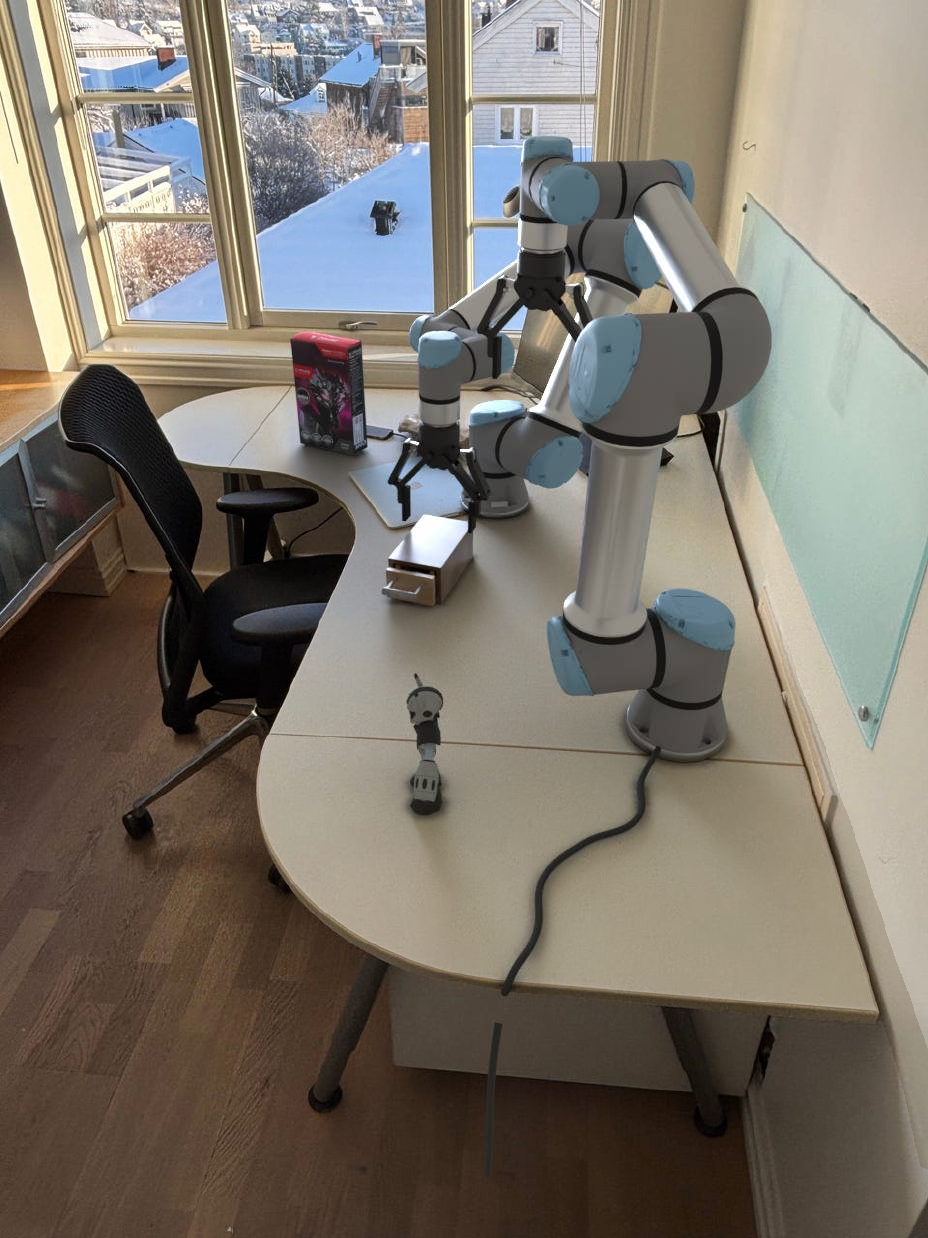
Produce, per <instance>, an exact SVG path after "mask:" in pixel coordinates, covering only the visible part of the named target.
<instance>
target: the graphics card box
mask: <svg viewBox="0 0 928 1238" xmlns="http://www.w3.org/2000/svg"><path fill="white" fill-rule="evenodd" d="M289 340H290V341H289V342H290V350H291V359H292V360H291V361H292V371H293V378H294V379H293V380H294V390H295V401H296V402H295V403H296V411H297V423H298V424H297V425H298V433H299V443H300V444H302V445H304V446H305V445H306V446H310V447H315V448H320V449H324V450H328V451H332V452H336V453H341V454H346V455H351V456H356V455H357V454H359V453H361V452H362V451H363V450H366V449H367V448H368V431H367V429H368V428H367V415H366V397H365V379H364V361H363V342H362V340H361V339H354V338H353V339H352V338H347V337H341V336H336V335H330V334H325V333H320V332H315V331H309V330H303V331H300V332H298V333H295V335H293V336H292V337H291V338H290V339H289Z"/></svg>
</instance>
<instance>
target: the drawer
mask: <svg viewBox="0 0 928 1238" xmlns="http://www.w3.org/2000/svg"><path fill="white" fill-rule="evenodd" d="M385 581H386V586H383V587H382V589H381V595H382V596H383V595H384V596H386V597H387V598H390V599H396V600H401V601H405V602H411V603H416V604H421V605H424V606H425V605H426V606H430V607H434V606H435V604H436V603H435V594H436V593H437V589H436V571H432V570H426V569H421V568H415V567H410V566H405V565H399V564H396V568H390V567H389V566H388V567H387V568H386V569H385Z"/></svg>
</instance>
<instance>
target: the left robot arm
mask: <svg viewBox="0 0 928 1238" xmlns="http://www.w3.org/2000/svg"><path fill="white" fill-rule="evenodd" d="M563 249H564V250H565V252H566V261H565V276H564V279H565V280H566V279H567V278H569V277H570V276H572V275H575V274H583V273H584V276H583V280H584V284H585V285H586V291H585V293H584V297H585V300H586V302H587V305H588V308H589V310H590V313H591V315H592V318H593V320H594V319H597V318H600V317H608V316H617V315H620V314H624V313H626V310H627V308H628V306H630V305H631V304H634V303H636V302H638V301H639V299H640V296H641V295H642V292H643V291H644V290H648V289H651V288H653V287H655V285H656V284H658V283H659V282H660V280H661V278H663V277H662V275H661V273H660V271H659V269H658V267H657V265H656V263H655V261H654V259H653V257H652V255H651V253H650V251H649V249H648V247H647V245H646V243H645V241H644V239H643V237H642V235H641V233H640V231H639V229H638V227H637V226H636V224H635V222H634V220H633V219H604V220H587V221H585V222H584V223H581V224H579V225H576V226H568V230H567V245H566V246H565V247H564V248H563ZM517 262H518V258H517V259H516V260H515V261H513V262H512V263H510V264H509V265H508V266H506V267H505V268H503V269H502V270H501V271H499V272H498V273H497V274H495V275H493V276H492V277H491V278H489V279H488V280H487V281H485V282H484V283H483V284H481V285H480V286H478V287H477V288H476V289H474V290H473V291H472V292H470V293H469V294H467V295H466V296H465V297H463V298H462V299H460V300H459V301H458V302H457V303H455V304H454V305H452V306H450V307H449V308H447V310H445V311H444V312H442V313H441V314H439V315H438V316H434V315H421V316H419V317H417V318H416V319H415V320H414V321H413V323H412V324H411V327H410V329H409V333H408V340H409V344H410V346H411V348H412V350H413V351H414V352H415V353H417V359H416V361H417V374H418V375H417V376H418V377H417V378H418V381H417V382H418V414H419V419H420V421H419V439H418V442H417V441H414V439H413V437H409V438H407V439H406V440H405V441H404V442H403V443H402V447H401V454H400V455H399V458H398V459H397V462H396V463H395V466H394V468H393V469H392V471H391V473H390V475H389V476H388V479H387V481H386V483H387V484H388V485H389V486H394V487H395V488H396V493H397V494H396V495H397V496H396V497H397V500H396V501H397V503H398V504H400V505H401V521H402V522H407V521H408V520H409V519H410V517H411V515H412V512H411V511H412V507H411V505H412V504H411V503H412V502H411V500H412V499H411V497H412V496H411V485H409V484H408V483H409V482H410V481H411V480H412V479H413V478H414V477H415V476H416V475H417V474H418V473H419V472H420V471H421V469H423V468H424V467H425V466H427V467H429V469H432V470H433V469H436V470H437V469H438V470H441V471H446V470H447V471H448V472H449V473H450V475H453V476H454V477H455V479H456V480H457V482H458V483H459V485H460V486H461V487H462V489H461V493H460V505H461V507H462V508H463V510H465V511H466V512H467V522H468V533H472V532H473V533H474V531H475V529H476V528H477V518H478V517H481V518H487V519H505V518H510V517H514V516H518V515H520V514H521V513H523V512H524V511H526V510H527V508H528V507H529V499H530V498H529V491H528V488H527V484H526V482H525V480H526V481H528V483H530V484H531V485H535V486H539V487H542V488H545V489H550V490H551V489H556V488H559V487H562V486H563V485H564V484H566V483H568V482H569V481H570V480H571V479H572V478H573V477H574V476H575V475H576V473H577V472H578V470H579V469H580V466H581V464H582V462H583V458H584V453H583V451H584V447H583V444H582V443H581V441H580V440H579V439H580V436H581V434H582V431H583V429H582V426H581V424H580V420H578V419H577V418H576V417H575V416H574V414H573V412H572V410H571V407H570V402H569V390H570V385H569V383H568V382H569V370H570V363H571V359H572V354H573V350H574V347H575V344H576V343H575V341H574V340H573V338H572V337H571V335H570V334H569V333H568V335H567V337H566V340H565V342H564V345H563V347H562V349H561V351H560V354H559V357H558V359H557V361H556V364H555V366H554V369H553V370H552V373H551V376H550V378H549V380H548V383H547V386H546V388H545V390H544V391H543V395H542V397H541V400H540V402H539V403H538V404H537V405H535V406H533V407H531V408H529V409H528V407H525V405H524V404H523V403H522V402H520V401H518V400H512V399H511V400H510V399H497V400H489V401H485V402H482V403H479V404H476V405H475V406H474V407H473V408H472V409H471V410H470V413H469V423H468V429H469V450H466V449H461V448H460V445H459V441H460V428H461V423H460V421H459V420H460V419H461V391H462V385H465V384H469V383H472V382H476V381H481V380H485V379H489V378H492V364H493V358H490V357H488V355H487V341H488V340H487V337H486V336H484V335H482V334H478V333H477V328H478V326H479V324H480V322H481V320H482V318H483V316H484V314H485V312H486V310H487V308H488V306H489V304H490V302H491V300H492V298H493V296H494V295H495V293H496V286H497V280H498V279H499V278H501V277H502V276H503V275H506V276H507V277H508V278H510V279H514V280H516V278H517ZM518 299H519V296H518V295H517V293H516V291H515V290H514V287H512V288H511V289H510V291H509V292H507V293H506V294H505V296H504V298H503V300H502V301H501V303H500V305H499V307H498V309H497V311H496V313H495V315H494V317H493V319H492V321H491V323H490V324H489V327H491V328H493V327H494V326H495V324H496V323H497V322H498V321H499V320H500V319H501V318H502V317H503V316H504V315H505V313H506V312H507V311H508V310H509V309H510V308H511V307H512V306H513V304H514V303H515V302H516V301H517V300H518ZM574 319H575V321H576V322H577V324H578V325H579V327H580V328H581V330H583V329H584V328H583V325H582V322H581V320H580V317H579V315H578V312H577V313H576V315H575V317H574ZM497 336H502V355H501V375H502V374H505V373H508V372H509V371H511V369H512V368H513V367H514V363H515V357H516V356H515V355H516V352H515V347H514V343H513V341H512V340H511V338H510V337H509V336H508V335H507V334H506V333H504V332H501V331H500V332H499V333H498V334H497ZM527 411H528V412H527ZM415 451H417V453H418V454H419V455H420V457H421V459H420V460H419V461H418V462H417V463H416V464H415V465H414V466H413V467H412V468H411V469H410V470H409V471H408V472H407V473H406V475H404V476H403V477H402V478H400V476H401V474H402V471H403V470H404V468H405V466H406V464H407V462H408V460H409V458H410V457H411V455H412V454H413V453H414V452H415ZM460 457H461V458H462V459H463V462H464V463H466V466H467V469H468V471H466V470H465V468H464V467H463V463H462V462H461V460H460V459H459V458H460ZM461 501H462V502H464V504H465V505H466V506H467V507H468V508H466V507H465V506H464V505H463V504H462V502H461Z"/></svg>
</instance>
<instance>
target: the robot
mask: <svg viewBox="0 0 928 1238" xmlns="http://www.w3.org/2000/svg"><path fill="white" fill-rule="evenodd" d="M413 677H414V680H415V682H416V685H417V687H416V688H415V689H413V690H412V691H411V692H410V693H408V695H407V697H406V699H405V702H406V705H407V706H406V709H407V710H408V712H409V723H410V724H411V725H412V727H413V729H414V733H416V750H417V751H418V753H419V755H420V761H419V764H418V767H417V768H416V771H415V773H414V774H413V775H412V777H411V778H410V781H409V783H410V785H411V787H412V789H413V790H412V791H413V792H412V793H413V798H412V800H411V802H410V805H409V807H410V808H411V810H413V811H414V812H415V813H416V814H419V815H423V816H424V815H431V814H432V813H435V812H437V811H439V810H440V809H441V806H442V803H443V798H442V796H443V795H442V792H441V789H440V787H441V786H442V777H441V773H440V770H439V766H438V763H437V762H436V760H435V757H436V755H437V746H441V743H442V737H441V730H440V726H439V719H440V718H441V716H440V711H441V710H442V709H443V708H444V707H443V706H444V696H443V695H442V692H441V691H439V690H438V688H435V687H433V686H431V685H424V684H423V682H422V680H421V678H420V677H419V675H418V673H414V674H413Z"/></svg>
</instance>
